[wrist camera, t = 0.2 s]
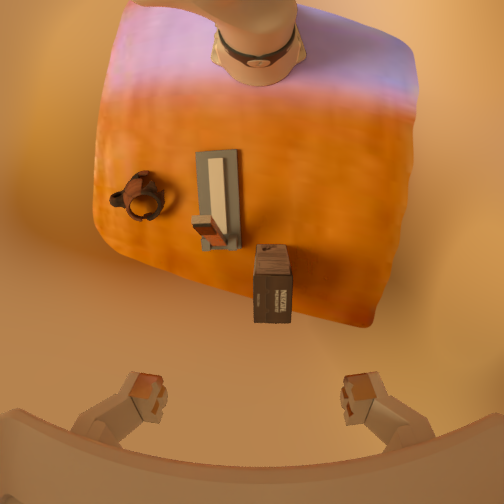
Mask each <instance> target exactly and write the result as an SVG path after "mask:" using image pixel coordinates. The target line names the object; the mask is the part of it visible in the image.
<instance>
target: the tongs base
mask: <svg viewBox="0 0 504 504" xmlns="http://www.w3.org/2000/svg"><path fill="white" fill-rule="evenodd" d="M196 169H197V184H198V197H199V210H200V215H211V216H212V217H213V219H214V221H215V222H216V224H217V225H218V227H219V228H220V230H221V231H222V233H223V235H224V236H225V238H226V239H227V240H228V245H227V246H211V244H210V243H209V242H208V241H207V239H206V238H205V237H204V236H203V235H202V239H201V242H202V251H211V249H228V250H237V249H241V248H242V241H241V222H240V202H239V181H238V160H237V149H233V150H218V151H205V152H196Z"/></svg>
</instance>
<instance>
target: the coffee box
mask: <svg viewBox="0 0 504 504" xmlns="http://www.w3.org/2000/svg"><path fill="white" fill-rule="evenodd" d="M292 289H293V275H292V271H291V266H290V262H289V257H288V252H287V248H286V245H274V244H257V246H256V255H255V265H254V275H253V303H254V323H275V324H277V323H291V312H292Z"/></svg>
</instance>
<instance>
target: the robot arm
mask: <svg viewBox="0 0 504 504" xmlns="http://www.w3.org/2000/svg"><path fill="white" fill-rule="evenodd" d="M131 1H133V2H134V3H136V4H138V5H140V6H144V7H170V8H177V9H182V10H186V11H189V12H192V13H195V14H198V15H201V16H203V17H205V18H207V19H209V20H211V21H213V22H215V26H216V27H217V32H216V33H215V35H214V38H215V40H214V44H213V49H212V53H211V60H212V62H213V63H215V64H217V65H219V66H221V67H223V68H224V69H225V70H226V71H227V72H228V73H229V74H230V75H231V76H232V77H233V78H234V79H236V80H237V81H239V82H241V83H243V84H247V85H251V86H266V85H271V84H274V83H276V82H278V81H280V80H282V79H283V78H285V77H286V76H287V75H288V74H289V72H290V71H291V70H292V68H293V67H294V66H295V65H296V64H298V63H300V62H301V61H303V60H304V59H305V58H306V51H305V48H304V45H303V42H302V39H301V36H300V33H299V31H298V28H297V25H296V22H295V20H296V16H297V4H296V1H295V0H131ZM300 50H301V51H300ZM216 53H217V54H216ZM343 383H344V387H342V389H341V395H340V400H341V406H342V408H343V409H345V412H344V418H345V422H346V426H348V425H356V424H363V423H364V425H365V426H367V427H368V428H369V429H370V430H371V431H372V432H373V433H374V434H375V435H376V436H377V437H378V438H379V439H380V440H382V441H383V442H384V443H385V444H386V445H387V447H386V448H385V450H384V451H383V453H381V454H377V455H372V456H368V457H362V458H357V459H351V460H346V461H339V462H332V463H324V464H314V465H302V466H285V467H239V466H221V465H210V464H200V463H192V462H184V461H178V460H172V459H166V458H161V457H156V456H151V455H146V454H142V453H138V452H134V451H130V450H125V449H123V448H122V447H121V445H120V444H119V442H120V441H121V440H122V439H123V438H125V437H126V436H127V435H128V434H130V432H132V431H133V430H134V429H135V428H137V427H138V426H139V425H140V424H141V423H142V422H143V421H145V422H151V423H158V424H159V423H160V421H161V418H162V415H163V412H162V408H164V407H165V406H166V403H167V398H168V394H167V390H166V388H165V387H164V386H163V385H162V384H163V378H162V376H159V375H152V374H145V373H138V372H133V371H132V372H130V373H129V374H128V376H127V378H126V380H125V382H124V384H123V386H122V387H121V389H120V391H119V393H118V394H114V395H113V396H111V397H109V398H107V399H106V400H104V401H102V402H100V403H99V404H97V405H95V406H94V407H92V408H90V409H88V410H86V411H85V412H83V413H81V414H80V415H79V417H78V418H77V420H76V422H75V423H74V425H73V427H72V429H71V431H68V430H66V429H63V428H61V427H58V426H56V425H54V424H51V423H49V422H47V421H45V420H43V419H41V418H38V417H36V416H34V415H32V414H30V413H28V412H27V411H25V410H22V409H20V408H16V409H12V410H10V411H7V412H5V413H2V414H0V504H504V415H502V414H499V413H492V414H490V415H488V416H485V417H483V418H482V419H479V420H477V421H475V422H473V423H471V424H468V425H466V426H464V427H461V428H459V429H457V430H454V431H452V432H449V433H447V434H444V435H441V436H439V437H435V434H434V432H433V430H432V428H431V426H430V424H429V421H428V419H427V418H426V417H424V416H423V415H421V414H419V413H418V412H416V411H415V410H413V409H411V408H410V407H408V406H407V405H405V404H404V403H402V402H401V401H399V400H397V399H396V398H394V397H393V396H388V394H387V391H386V390H385V387H384V384H383V382H382V380H381V378H380V375H379V373H378V372H369V373H362V374H355V375H347V376H345V377H344V381H343Z"/></svg>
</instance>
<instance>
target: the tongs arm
mask: <svg viewBox="0 0 504 504" xmlns="http://www.w3.org/2000/svg"><path fill="white" fill-rule="evenodd" d="M192 225H193V228H194V229H195V230H196V231H197V232H198V233H199V234H200V235H203V236H204V237H205V238H206V239H207V241H208V242H209V243H210V244H211V246H227V245H228V240H227V239H226V238H225V236H224V235H223V233H222V231H221V230H220V228H219V227H218V225H217V224H216V222H215V221H214V219H213V217H212V216H211V215H197V216H192Z"/></svg>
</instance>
